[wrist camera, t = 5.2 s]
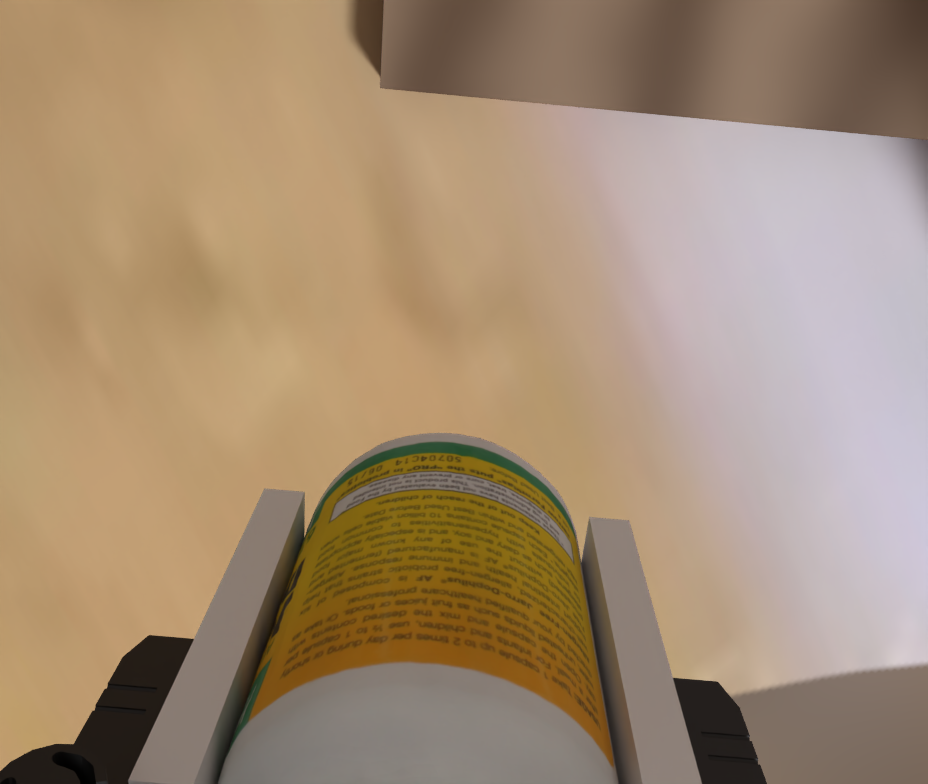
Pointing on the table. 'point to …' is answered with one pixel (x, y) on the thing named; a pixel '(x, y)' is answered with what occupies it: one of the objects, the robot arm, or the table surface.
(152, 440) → the table surface
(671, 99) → the socket board
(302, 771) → the supplement bottle
